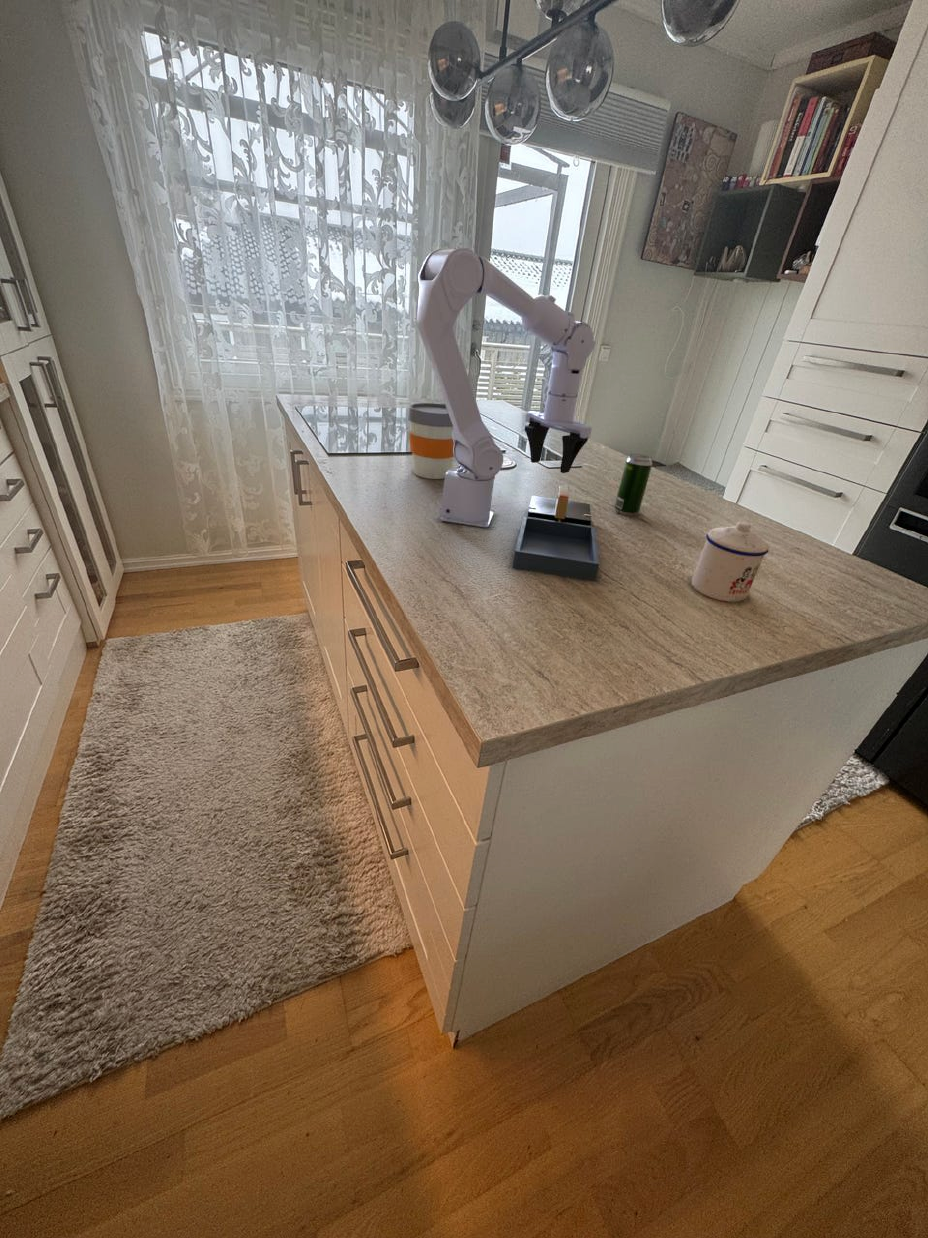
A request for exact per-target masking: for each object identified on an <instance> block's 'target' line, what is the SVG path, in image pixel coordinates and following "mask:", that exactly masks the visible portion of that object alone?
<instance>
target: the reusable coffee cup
mask: <svg viewBox="0 0 928 1238" xmlns="http://www.w3.org/2000/svg"><path fill="white" fill-rule="evenodd" d="M407 420H408V421H409V430H408V438H409V447H410V452H411V454H412V464H413V473H414V474H415V475H416V476H418V477H420V478H424V479H430V480H443V479H445V476H446V473H447V471H453V466H454V461H455V457H454V454H453V446H454V442H453V438H452V435H451V433H452V431H453V429H454V427H453V425H452V422H451V419H450V416H449V413H448V411H447V408H446V405H445V403H444V404H443V403H436V402H435V403H434V402H418V403H417V402H416V403H412V404H410V405H409V408H408V417H407Z"/></svg>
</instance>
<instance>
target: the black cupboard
mask: <svg viewBox="0 0 928 1238" xmlns="http://www.w3.org/2000/svg"><path fill="white" fill-rule="evenodd" d="M556 501H557V498H552V497H544V496H538V495H537V496H536V495H531V498H530V503H529V506H528V512H527V517H532V518H539V519H546V520H553V521H558V523H560V522H566V523H573V524H580V525H586V526H591V524H592V512H591V504H590V503H585V502H581V501H580V502H579V501H572V500H568V504H567V509H566V514H565V519H559V518H555V510H556Z"/></svg>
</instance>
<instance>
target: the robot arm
mask: <svg viewBox="0 0 928 1238" xmlns="http://www.w3.org/2000/svg"><path fill="white" fill-rule="evenodd" d="M417 281H418V286H419V291H418V302H417V314H416V325H417V329H418V333H419V336H420V337H421V340H422V343H423V346H424V349H425V352H426V355H427V358H428V360H429V363H430V366H431V368H432V371H433V374H434V377H435V380H436V382H437V386H438V389H439V391H440V394H441V397H442V400H443V402H444V404H445V405H446V408H447V411H448V413H449V416H450V419H451V422H452V425H453V427H454V429H453V431H452V433H451V435H452V438H453V442H454V446H453V454H454V460H455V461H456V462H457V467H456V470H452V471H447V473H446V476H445V478H444V481H443V486H442V487H443V488H442V500H441V501H442V503H441V515H440V516H441V517H440V521H442V522H448V523H453V524H461V525H468V526H473V527H480V528H485V529H487V528H489V527H490V525H491V522H492V519H493V517H494V511H491V508H492V500H493V491H494V482H495V479H496V475H497V474H498V473H499V472H500V471H501V469H502V467H503V464H504V453H503V450H502V449H501V448H500V447H499V446H498V445H497V444H496V443H495V441H494V439H493V435H492V433H491V432H490V431H489V429H488V427H487V426H486V425H485V423H484V422H483V421H484V420H483V419H482V416H481V412H480V410H479V406H478V404H477V400H476V397H475V393H474V391H473V388H472V384H471V382H470V378H469V374H468V372H467V368H466V365H465V362H464V359H463V356H462V353H461V349H460V347H459V343H458V340H457V337H456V334H455V330H454V326H455V324H456V321H457V319H458V317H459V315H460V313H461V311H462V310H463V309H464V308H465V306H466V305H467V304H468V303H469V302H470V301H471V300H472V299H473V297H474V296H475V295H486V296H487V297H489V298H490V299H492V300H494V301H495V302H497V303H498V304H500V305H502V306H503V307H505V308H507V309H508V310H510V311H511V312H513V313H514V314H516V315H517V316H519V317H520V318H521V324H522V328H523V329H524V330H525V331H526V332H528V333H529V334H531V335H532V336H533V337H535V338H537V339H538V340H540V341H541V342H543V343H544V344H546V345H547V346H549V350H550V351H551V353H552V355H553V356H552V362H551V367H550V373H549V380H548V385H547V393H546V399H545V405H544V412H538V411H534V410H530V411H526V413H525V420H524V422H525V423H528V424H526V425H524V432H525V435H526V438H527V440H528V446H529V453H530V463H532V464H535V463H540V461H541V459H542V455H543V451H544V450H543V449H544V444H545V441H546V438H547V435H548V433H549V430H550V429H552V430H556V431H560V432H563V433H567V435H562V437H561V441H562V455H561V456H562V457H561V462H560V469H559V470H560V471H559V472H560V473H562V474H566V473H570V470H571V468H572V466H573V464H574V461H575V460H576V458H577V456H578V455H579V453H580V451H581V450H582V449H583V447H584V446H585V444H586V443H587V442H588V440H589V438H591V434H592V430H593V426H590V425H587V424H585V423H581V422H580V421H577V420H575V418H574V417H575V412H576V407H577V403H578V398H579V397H578V396H579V391H580V386H581V381H582V376H583V371H584V367H586V363H587V359H588V358H589V356H590V355H591V354H592V352H593V351H594V349H595V346H596V341H595V340H594V332H593V329H592V327H591V325H589V323H586V322H585V321H576V319H575V313H573V312H572V311H566V310H564V309H563V308H562V307H560V305H558V304H557V303H556V301H557V300H556V297H554V295H551V294H547V295H544V294H539V295H536V296H531V295H530V294H529V293H528V292H527V291H526V290H525V289H524V288H522V287H520V285H518V284H517V283H516V282H514V280H513V279H511V278H510V277H508V276H507V275H506V274H505V273H504V272H503V271H501V270H500V269H499V268H498V267H496V266H495V265H494V264H493V263H492V262H491V261H490V260H488V259H487V258H486V257H484V256H482V255H478V254H477V253H476V252H475V251H474V250H472V249H470V248H469V247H464V246H463V247H458V248H452V249H444V248H438V249H435V250H432V251H431V252H430V253H428V255H427V257H426V258H425V259H424V261H423V263H422V266H421V269H420V270H419V273H418V274H417Z"/></svg>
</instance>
